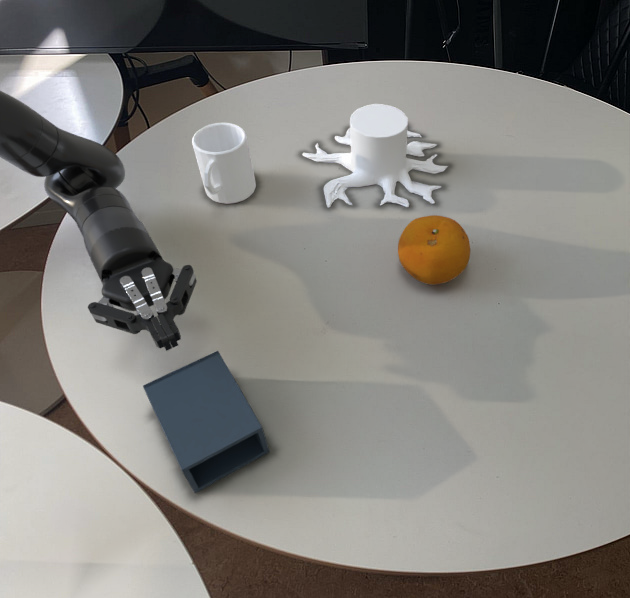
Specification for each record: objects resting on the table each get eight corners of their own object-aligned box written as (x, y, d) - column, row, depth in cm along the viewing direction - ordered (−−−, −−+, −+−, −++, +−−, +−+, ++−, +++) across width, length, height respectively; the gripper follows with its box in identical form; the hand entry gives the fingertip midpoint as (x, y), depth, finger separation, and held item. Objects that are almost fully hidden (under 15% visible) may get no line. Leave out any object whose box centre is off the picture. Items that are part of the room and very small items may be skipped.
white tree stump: (459, 204, 98) (466, 157, 91) (306, 214, 95) (300, 166, 88) (435, 123, 113) (439, 77, 105) (301, 130, 110) (296, 83, 102)
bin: (142, 385, 67) (181, 470, 61) (217, 350, 71) (262, 427, 65) (157, 411, 72) (195, 493, 66) (227, 377, 76) (269, 451, 69)
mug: (190, 217, 94) (174, 166, 86) (214, 170, 102) (202, 119, 94) (241, 223, 94) (229, 172, 86) (261, 175, 101) (252, 124, 94)
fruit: (387, 284, 86) (388, 244, 80) (409, 236, 93) (411, 196, 87) (457, 302, 85) (463, 264, 79) (474, 252, 91) (481, 213, 85)
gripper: (55, 248, 71) (98, 350, 62) (165, 208, 76) (220, 298, 67) (79, 290, 76) (122, 389, 67) (179, 250, 81) (232, 338, 72)
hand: (170, 343), depth 67 cm, fingers closed
